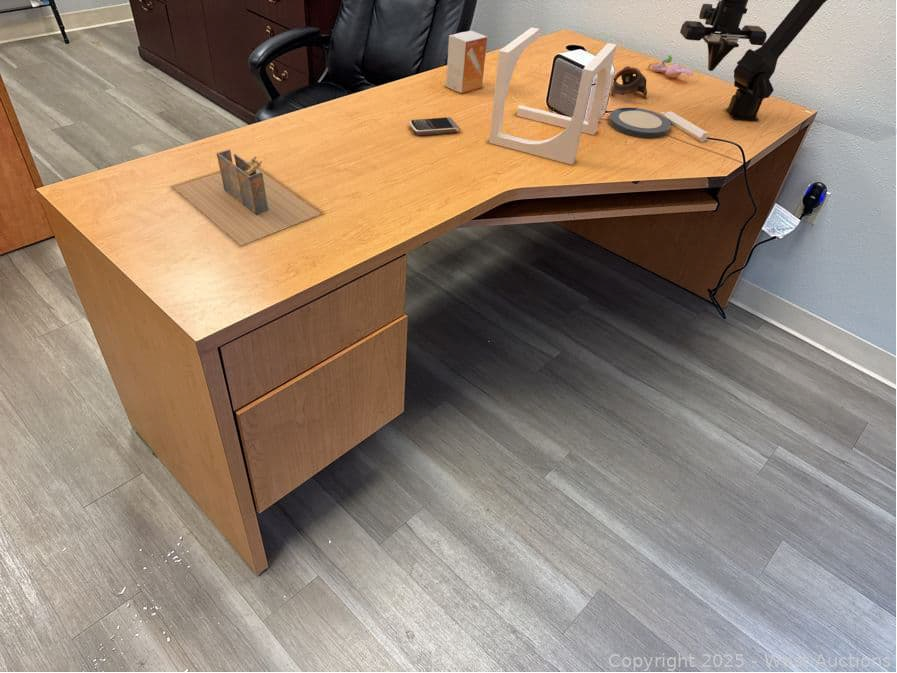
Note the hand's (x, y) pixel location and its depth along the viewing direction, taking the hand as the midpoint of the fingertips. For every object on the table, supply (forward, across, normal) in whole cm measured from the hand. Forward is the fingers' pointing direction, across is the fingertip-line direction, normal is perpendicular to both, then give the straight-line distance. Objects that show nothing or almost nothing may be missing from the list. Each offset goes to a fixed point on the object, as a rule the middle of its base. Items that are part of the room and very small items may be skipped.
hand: (710, 70), depth 147 cm
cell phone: (+12, +67, +18) cm, 70 cm away
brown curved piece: (+12, +15, -13) cm, 23 cm away
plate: (+12, +16, +7) cm, 21 cm away
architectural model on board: (+12, +101, +55) cm, 116 cm away
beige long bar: (+12, +5, +7) cm, 15 cm away
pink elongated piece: (+12, -1, -30) cm, 32 cm away
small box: (+12, +60, -10) cm, 62 cm away
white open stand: (+12, +41, +18) cm, 46 cm away
